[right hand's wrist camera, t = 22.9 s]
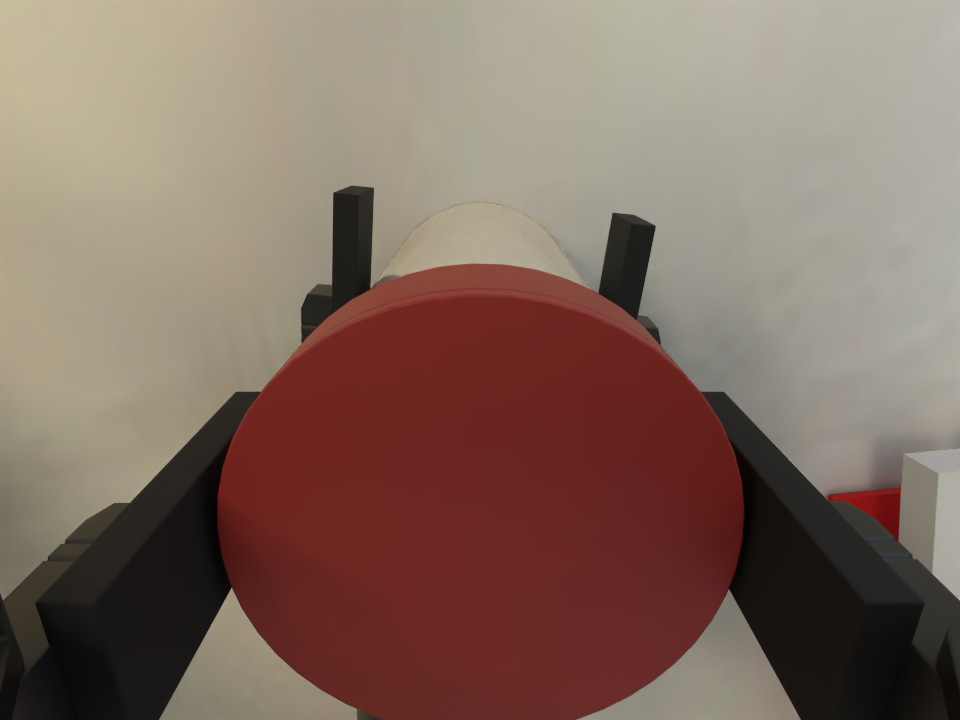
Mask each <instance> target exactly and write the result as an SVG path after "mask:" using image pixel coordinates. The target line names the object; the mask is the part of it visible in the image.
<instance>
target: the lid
mask: <svg viewBox="0 0 960 720" xmlns="http://www.w3.org/2000/svg"><path fill="white" fill-rule="evenodd" d="M744 513H745V511H744V500H743V489H742V481H741V477H740V473H739V469H738V465H737V461H736V457H735V453H734V451H733V448H732V446H731V444H730V442H729V439H728V437H727V435H726V432H725V430H724V428H723V426H722V423H721V422H720V420H719V419H718V417H717V416H716V414H715V413H714V411H713V409H712V408H711V406H710V405H709V403H708V402H707V400H706V398H705V397H704V396H703V394H702V393H701V392H700V391H699V390H698V389H697V387H696V386H695V385H694V384H693V383H692V382H691V380H690V379H689V378H688V377H687V376H686V375H685V373H684V372H683V371H682V370H681V369H680V368H679V367H678V365H677V364H676V363H675V362H674V361H673V360H672V358H671V357H670V356H669V355H668V354H667V353H666V351H665V350H664V349H663V348H662V347H661V346H660V345H659V343H658V342H657V341H656V340H655V339H654V338H653V337H652V336H651V334H650V333H649V332H648V331H647V330H646V329H645V328H644V327H643V326H642V325H641V324H640V323H639V322H637V321H636V320H635V319H634V318H633V317H632V316H630V315H629V314H628V313H627V312H626V311H624V310H623V309H622V308H621V307H619V306H618V305H616V304H614V303H613V302H611V301H610V300H608V299H606V298H605V297H603V296H602V295H600V294H599V293H597V292H595V291H593V290H591V289H589V288H586V287H584V286H582V285H580V284H578V283H575V282H573V281H571V280H569V279H566V278H563V277H560V276H556V275H553V274H550V273H546V272H543V271H540V270H536V269H530V268H524V267H518V266H512V265H505V264H477V263H470V264H460V265H450V266H440V267H436V268H431V269H427V270H423V271H419V272H414V273H410V274H407V275H404V276H401V277H399V278H396V279H394V280H391V281H388V282H386V283H383V284H380V285H378V286H376V287H374V288H373V289H371V290H369V291H367V292H365V293H363V294H361V295H360V296H358V297H356V298H354V299H352V300H351V301H349V302H348V303H347V304H345V305H344V306H343V307H341V308H340V309H339V310H337V311H336V312H334V313H333V314H332V315H330V316H329V317H328V318H327V319H326V320H325V321H324V322H323V323H322V324H320V325H319V326H318V327H317V328H316V329H315V330H314V331H313V332H312V333H311V334H310V335H309V336H308V337H307V338H306V339H305V341H304V342H303V343H302V344H301V345H300V346H299V348H298V349H297V350H296V351H295V352H294V353H293V355H292V356H291V357H290V358H289V359H288V360H287V362H286V363H285V364H284V365H283V366H282V367H281V369H280V370H279V371H278V372H277V373H276V374H275V376H274V377H273V378H272V379H271V380H270V381H269V383H268V384H267V385H266V386H265V388H264V389H263V390H262V392H261V393H260V394H259V396H258V397H257V398H256V400H255V401H254V402H253V404H252V405H251V406H250V408H249V409H248V410H247V412H246V414H245V416H244V418H243V420H242V422H241V424H240V426H239V427H238V429H237V431H236V433H235V435H234V437H233V439H232V442H231V445H230V447H229V450H228V453H227V456H226V459H225V462H224V465H223V468H222V474H221V480H220V486H219V492H218V497H217V529H218V536H219V543H220V549H221V556H222V559H223V563H224V566H225V569H226V572H227V575H228V579H229V582H230V584H231V587H232V589H233V591H234V593H235V595H236V597H237V599H238V601H239V603H240V605H241V607H242V609H243V611H244V612H245V614H246V615H247V617H248V618H249V620H250V621H251V623H252V624H253V626H254V627H255V629H256V631H257V632H258V633H259V634H260V636H261V637H262V638H263V639H264V640H265V641H266V643H267V644H268V645H269V646H270V647H271V648H272V649H273V651H274V652H275V653H276V654H277V655H278V656H279V657H280V658H281V659H283V660H284V661H285V662H286V663H287V664H288V665H289V666H290V667H291V668H292V669H294V670H295V671H296V672H297V673H298V674H300V675H301V676H302V677H304V678H305V679H307V680H308V681H309V682H311V683H312V684H314V685H315V686H316V687H318V688H319V689H321V690H322V691H324V692H326V693H328V694H329V695H331V696H333V697H335V698H337V699H338V700H340V701H342V702H344V703H345V704H348V705H350V706H352V707H354V708H357V709H359V710H361V711H364V712H366V713H368V714H371V715H373V716H376V717H379V718H383V719H386V720H576V719H579V718H582V717H584V716H587V715H590V714H592V713H595V712H598V711H600V710H603V709H605V708H607V707H609V706H611V705H613V704H615V703H617V702H619V701H621V700H623V699H625V698H627V697H629V696H630V695H632V694H634V693H635V692H637V691H638V690H640V689H641V688H643V687H645V686H646V685H648V684H649V683H651V682H652V681H654V680H655V679H656V678H657V677H659V676H660V675H661V674H662V673H664V672H665V671H666V670H667V669H669V668H670V667H671V666H672V665H674V664H675V663H676V662H677V661H678V660H679V659H680V658H681V657H682V656H683V655H684V654H685V653H686V652H687V651H688V649H689V648H690V647H691V646H692V645H693V644H694V643H695V642H696V641H697V640H698V638H699V637H700V636H701V634H702V633H703V632H704V630H705V629H706V628H707V626H708V625H709V624H710V622H711V621H712V620H713V618H714V616H715V614H716V612H717V611H718V609H719V607H720V605H721V603H722V602H723V600H724V598H725V596H726V594H727V592H728V589H729V587H730V584H731V581H732V579H733V576H734V574H735V571H736V568H737V564H738V559H739V555H740V550H741V546H742V542H743V528H744Z"/></svg>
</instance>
